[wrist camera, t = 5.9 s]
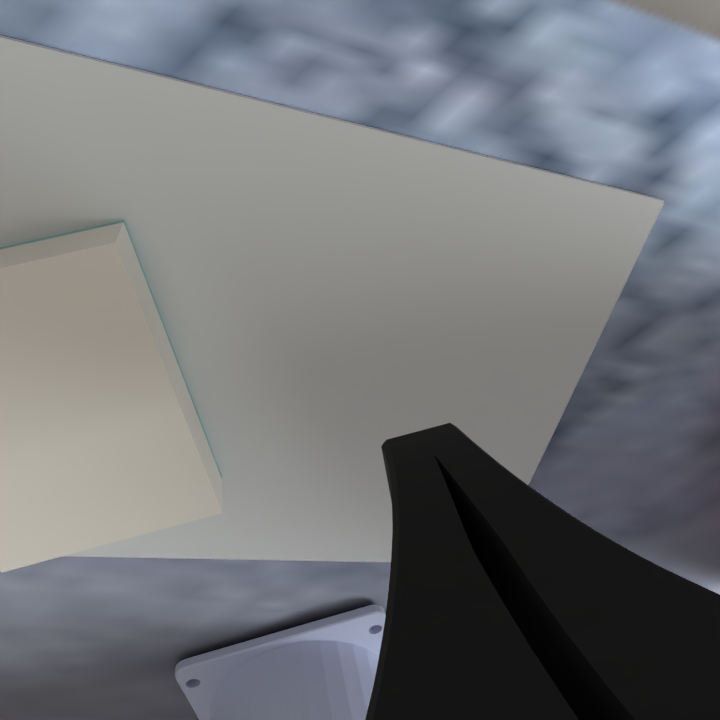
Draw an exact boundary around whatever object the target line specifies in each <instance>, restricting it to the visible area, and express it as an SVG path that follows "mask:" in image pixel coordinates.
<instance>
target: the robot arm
mask: <svg viewBox="0 0 720 720" xmlns="http://www.w3.org/2000/svg"><path fill="white" fill-rule="evenodd" d="M381 448H382V453H383V459H384V464H385V469H386V475H387V480H388V485H389V491H390V496H391V502H392V523H393V531H392V553H391V572H390V583H389V593H388V602H387V609H386V615H385V611H384V609H383V607H381V606H379V605H369V606H365V607H362V608H358V609H355V610H351V611H348V612H345V613H341V614H338V615H334V616H331V617H327V618H324V619H321V620H317V621H314V622H310V623H307V624H303V625H300V626H297V627H293V628H290V629H286V630H283V631H279V632H276V633H272V634H269V635H266V636H262V637H259V638H255V639H252V640H248V641H245V642H242V643H238V644H235V645H231V646H228V647H224V648H221V649H218V650H214V651H211V652H207V653H204V654H200V655H197V656H193V657H190V658H187V659H184V660H182V661H180V662H179V663H178V664H177V665H176V667H175V679H176V680H177V682H178V684H179V686H180V687H181V689H182V691H183V693H184V694H185V696H186V698H187V700H188V701H189V703H190V705H191V707H192V708H193V710H194V712H195V714H196V715H197V717H198V719H199V720H720V595H719V594H717V593H715V592H713V591H710V590H708V589H706V588H704V587H702V586H700V585H698V584H695V583H693V582H691V581H689V580H687V579H685V578H683V577H680V576H678V575H676V574H674V573H672V572H670V571H668V570H665V569H663V568H661V567H660V566H658V565H656V564H654V563H652V562H650V561H648V560H646V559H644V558H642V557H640V556H639V555H637V554H635V553H633V552H631V551H629V550H628V549H626V548H624V547H622V546H621V545H619V544H617V543H615V542H614V541H612V540H610V539H608V538H607V537H605V536H603V535H602V534H600V533H598V532H597V531H595V530H593V529H592V528H590V527H589V526H587V525H585V524H584V523H582V522H581V521H579V520H578V519H576V518H575V517H573V516H571V515H570V514H568V513H567V512H565V511H564V510H562V509H561V508H559V507H558V506H556V505H555V504H554V503H552V502H551V501H549V500H548V499H546V498H545V497H544V496H542V495H541V494H539V493H538V492H537V491H535V490H534V489H533V488H531V487H530V486H529V485H527V484H526V483H525V482H523V481H522V480H521V479H519V478H518V477H516V476H515V475H514V474H512V473H511V472H510V471H509V470H507V469H506V468H505V467H504V466H502V465H501V464H500V463H499V462H497V461H496V460H495V459H494V458H492V457H491V456H490V455H489V454H488V453H486V452H485V451H484V450H483V449H482V448H480V447H479V446H478V445H477V444H476V443H474V442H473V441H472V440H471V439H470V438H469V437H468V436H466V435H465V434H464V433H463V432H462V431H461V430H460V429H459V428H457V427H456V426H455V425H453V424H451V423H447V424H443V425H439V426H436V427H432V428H428V429H425V430H421V431H417V432H413V433H410V434H406V435H402V436H398V437H395V438H391V439H387V440H386V441H385V442H384V443H383V445H382V446H381Z"/></svg>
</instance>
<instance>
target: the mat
mask: <svg viewBox="0 0 720 720" xmlns="http://www.w3.org/2000/svg"><path fill="white" fill-rule="evenodd" d="M664 203H665V201H663V200H661V199H658V198H656V197H652V196H648V195H644V194H640V193H636V192H632V191H628V190H624V189H620V188H616V187H612V186H608V185H604V184H600V183H596V182H592V181H588V180H584V179H580V178H575V177H571V176H567V175H563V174H559V173H555V172H551V171H547V170H543V169H539V168H535V167H531V166H527V165H523V164H519V163H515V162H511V161H507V160H503V159H499V158H495V157H491V156H487V155H483V154H479V153H475V152H471V151H467V150H463V149H458V148H454V147H450V146H446V145H442V144H438V143H434V142H430V141H426V140H422V139H418V138H414V137H410V136H406V135H402V134H398V133H394V132H390V131H386V130H382V129H378V128H374V127H370V126H366V125H362V124H358V123H354V122H350V121H346V120H341V119H337V118H333V117H329V116H325V115H321V114H317V113H313V112H309V111H305V110H301V109H297V108H293V107H289V106H285V105H281V104H277V103H273V102H269V101H265V100H261V99H257V98H253V97H249V96H245V95H241V94H237V93H233V92H229V91H224V90H220V89H216V88H212V87H208V86H204V85H200V84H196V83H192V82H188V81H184V80H180V79H176V78H172V77H168V76H164V75H160V74H156V73H152V72H148V71H144V70H140V69H136V68H132V67H128V66H124V65H120V64H116V63H112V62H107V61H103V60H99V59H95V58H91V57H87V56H83V55H79V54H75V53H71V52H67V51H63V50H59V49H55V48H51V47H47V46H43V45H39V44H35V43H31V42H27V41H23V40H19V39H15V38H11V37H7V36H3V35H0V247H3V246H8V245H13V244H17V243H22V242H26V241H31V240H35V239H40V238H44V237H49V236H53V235H58V234H62V233H67V232H71V231H76V230H80V229H85V228H90V227H94V226H99V225H103V224H108V223H112V222H117V221H121V220H125V222H126V224H127V227H128V230H129V232H130V235H131V238H132V240H133V243H134V246H135V248H136V251H137V253H138V256H139V259H140V261H141V264H142V267H143V269H144V272H145V274H146V277H147V280H148V282H149V285H150V288H151V290H152V293H153V296H154V298H155V301H156V303H157V306H158V309H159V311H160V314H161V317H162V319H163V322H164V324H165V327H166V330H167V332H168V335H169V338H170V340H171V343H172V345H173V348H174V351H175V353H176V356H177V359H178V361H179V364H180V367H181V369H182V372H183V374H184V377H185V380H186V382H187V385H188V388H189V390H190V393H191V395H192V398H193V401H194V403H195V406H196V409H197V411H198V414H199V417H200V419H201V422H202V424H203V427H204V430H205V432H206V435H207V438H208V440H209V443H210V445H211V448H212V451H213V453H214V456H215V459H216V461H217V464H218V467H219V469H220V472H221V474H222V511H223V513H221V514H217V515H213V516H210V517H206V518H202V519H198V520H195V521H191V522H187V523H184V524H180V525H176V526H172V527H169V528H165V529H161V530H158V531H154V532H150V533H147V534H143V535H139V536H135V537H132V538H128V539H124V540H121V541H117V542H113V543H110V544H106V545H102V546H98V547H95V548H91V549H87V550H84V551H80V552H76V553H73V554H69V555H65V556H81V557H133V558H185V559H237V560H289V561H341V562H391V553H392V531H393V523H392V502H391V496H390V491H389V485H388V480H387V475H386V469H385V464H384V459H383V453H382V448H381V446H382V445H383V443H384V442H385V441H386V440H387V439H391V438H395V437H398V436H402V435H406V434H410V433H413V432H417V431H421V430H425V429H428V428H432V427H436V426H439V425H443V424H447V423H451V424H453V425H455V426H456V427H457V428H459V429H460V430H461V431H462V432H463V433H464V434H465V435H466V436H468V437H469V438H470V439H471V440H472V441H473V442H474V443H476V444H477V445H478V446H479V447H480V448H482V449H483V450H484V451H485V452H486V453H488V454H489V455H490V456H491V457H492V458H494V459H495V460H496V461H497V462H499V463H500V464H501V465H502V466H504V467H505V468H506V469H507V470H509V471H510V472H511V473H512V474H514V475H515V476H516V477H518V478H519V479H521V480H522V481H523V482H525V483H526V484H527V485H529V483H530V481H531V479H532V477H533V475H534V473H535V471H536V469H537V467H538V465H539V463H540V461H541V458H542V456H543V454H544V452H545V450H546V448H547V446H548V444H549V442H550V440H551V438H552V436H553V434H554V431H555V429H556V427H557V425H558V423H559V421H560V419H561V417H562V415H563V413H564V411H565V409H566V406H567V404H568V402H569V400H570V398H571V396H572V394H573V392H574V390H575V388H576V386H577V384H578V382H579V379H580V377H581V375H582V373H583V371H584V369H585V367H586V365H587V363H588V361H589V359H590V357H591V354H592V352H593V350H594V348H595V346H596V344H597V342H598V340H599V338H600V336H601V334H602V332H603V329H604V327H605V325H606V323H607V321H608V319H609V317H610V315H611V313H612V311H613V309H614V307H615V305H616V302H617V300H618V298H619V296H620V294H621V292H622V290H623V288H624V286H625V284H626V282H627V280H628V277H629V275H630V273H631V271H632V269H633V267H634V265H635V263H636V261H637V259H638V257H639V255H640V253H641V250H642V248H643V246H644V244H645V242H646V240H647V238H648V236H649V234H650V232H651V230H652V228H653V225H654V223H655V221H656V219H657V217H658V215H659V213H660V211H661V209H662V207H663V205H664Z"/></svg>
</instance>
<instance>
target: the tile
mask: <svg viewBox="0 0 720 720" xmlns="http://www.w3.org/2000/svg"><path fill="white" fill-rule="evenodd" d="M221 513H223V511H222V474H221V472H220V469H219V467H218V464H217V461H216V459H215V456H214V453H213V451H212V448H211V445H210V443H209V440H208V438H207V435H206V432H205V430H204V427H203V424H202V422H201V419H200V417H199V414H198V411H197V409H196V406H195V403H194V401H193V398H192V395H191V393H190V390H189V388H188V385H187V382H186V380H185V377H184V374H183V372H182V369H181V367H180V364H179V361H178V359H177V356H176V353H175V351H174V348H173V345H172V343H171V340H170V338H169V335H168V332H167V330H166V327H165V324H164V322H163V319H162V317H161V314H160V311H159V309H158V306H157V303H156V301H155V298H154V296H153V293H152V290H151V288H150V285H149V282H148V280H147V277H146V274H145V272H144V269H143V267H142V264H141V261H140V259H139V256H138V253H137V251H136V248H135V246H134V243H133V240H132V238H131V235H130V232H129V230H128V227H127V224H126V222H125V220H121V221H117V222H112V223H108V224H103V225H99V226H94V227H90V228H85V229H80V230H76V231H71V232H67V233H62V234H58V235H53V236H49V237H44V238H40V239H35V240H31V241H26V242H22V243H17V244H13V245H8V246H3V247H0V571H1V572H6V571H10V570H13V569H17V568H21V567H24V566H28V565H32V564H35V563H39V562H43V561H47V560H50V559H54V558H58V557H61V556H65V555H69V554H73V553H76V552H80V551H84V550H87V549H91V548H95V547H98V546H102V545H106V544H110V543H113V542H117V541H121V540H124V539H128V538H132V537H135V536H139V535H143V534H147V533H150V532H154V531H158V530H161V529H165V528H169V527H172V526H176V525H180V524H184V523H187V522H191V521H195V520H198V519H202V518H206V517H210V516H213V515H217V514H221Z"/></svg>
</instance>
